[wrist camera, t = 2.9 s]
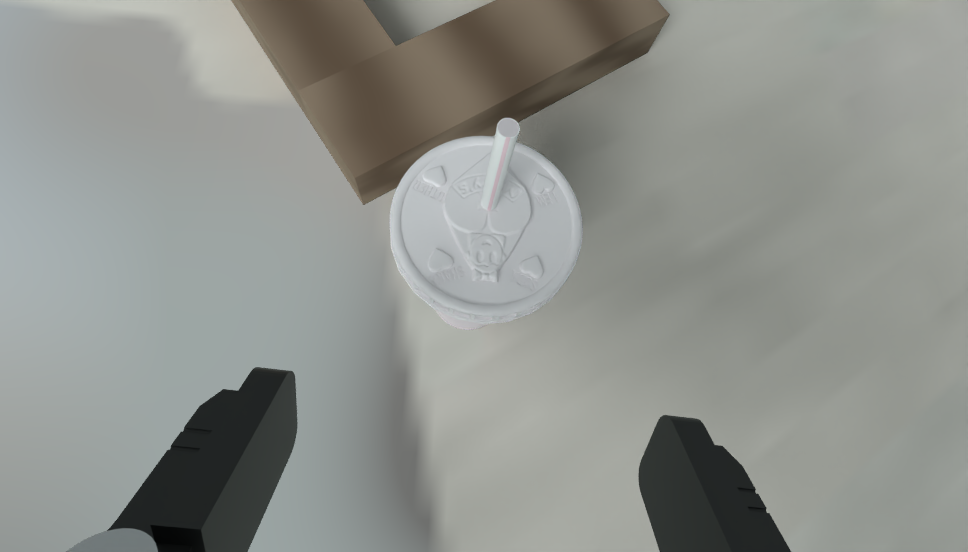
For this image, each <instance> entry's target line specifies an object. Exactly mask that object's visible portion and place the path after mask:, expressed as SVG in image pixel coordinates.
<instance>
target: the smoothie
mask: <svg viewBox="0 0 968 552" xmlns="http://www.w3.org/2000/svg"><path fill="white" fill-rule="evenodd" d="M519 131H520V127H519V124H518V123H517V121H515V120H514V119H511V118H504V119H501V120H500V121H499V122H498V124H497V128H496V133H495V137H493V136H471V137H464V138H459V139H455V140H452V141H449V142H446V143H444V144H441V145H439V146H437V147H435V148H433V149H432V150H430V151H429V152H427V153H426V154H424V155H423V156H422V157H420V158H419V159H418V160H417V161H416V162H415V163H414V164H413V165H412V166H411V167H410V168H409V169H408V171H407V172H406V173H405V175H404V176H403V178H402V179H401V181H400V183H399V185H398V187H397V189H396V192H395V194H394V197H393V201H392V204H391V210H390V240H391V250H392V253H393V255H394V258H395V261H396V264H397V267H398V270H399V272H400V273H401V275H402V276H403V278H404V279H405V281H406V282H407V283H408V285H409V286H410V288H411V289H412V291H413V292H414V293H415V294H417V295H418V296H419V297H420V298H421V299H423V300H424V301H425V302H426V303H427V304H428V305H430V306H431V307H432V308H434V309H435V310H436V312H437V313H438V315H439V316H440V317H441V318H442V319H443V320H444V321H445V322H446V323H448V324H449V325H451V326H453V327H455V328H459V329H464V330H472V329H478V328H481V327H483V326H485V325H487V324H489V323H500V322H509V321H512V320H514V319H517V318H520V317H523V316H526V315H528V314H531V313H533V312H534V311H536V310H537V309H538V308H540V307H541V306H543V305H544V304H546V303H547V302H548V301H550V300H551V299H552V298H553V297H554V296H555V294H556V293H557V292H558V291H559V289H560V288H561V287H562V286H563V284H564V283H565V282H566V280H567V278H568V276H569V275H570V273H571V271H572V270H573V268H574V266H575V263H576V261H577V258H578V256H579V252H580V248H581V243H582V232H583V226H582V217H581V211H580V207H579V204H578V201H577V198H576V196H575V193H574V192H573V190H572V188H571V186H570V184H569V183H568V181H567V179H566V178H565V177H564V175H563V174H562V173H561V172H560V171H559V170H558V168H557V167H556V166H555V165H554V164H553V163H551V162H550V161H549V160H548V159H547V158H545V157H544V156H543V155H541V154H540V153H538V152H537V151H535V150H534V149H532V148H530V147H528V146H526V145H523V144H521V143H518V142H516V141H517V138H518V134H519Z"/></svg>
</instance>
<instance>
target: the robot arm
mask: <svg viewBox="0 0 968 552" xmlns="http://www.w3.org/2000/svg"><path fill="white" fill-rule="evenodd" d="M296 433H297V406H296V388H295V375H294V373H293V372H292V371H286V370H277V369H268V368H260V367H256V368H254V369H253V370H252V371H251V372H250V374H249V375H248V377H247V378H246V380H245V381H244V383H243V384H242V386H241V388H240V389H239V391H234V390H226V389H223V390H222V391H221V392H219V393H218V394H216V395H215V396H213V397H212V398H210V399H209V400H208V401H206V402H205V403H203V404H202V405H201V406H200V407H199V408H198V409H197V411H196V412H195V414H194V415H193V416H192V417H191V419H190V420H189V422H188V423H187V424H186V426H185V427H184V431H183V432H181V433H180V434H179V435H178V437H177V438H176V439H175V441H174V442H173V444H172V445H171V449H170V450H167V452H166V453H165V454H164V456H163V457H162V458H161V460H160V462H159V463H158V464H157V465H156V467H155V468H154V469H153V471H152V472H151V474H150V475H149V476H148V478H147V479H146V480H145V482H144V483H143V484H142V486H141V487H140V489H139V490H138V491H137V493H136V494H135V495H134V497H133V498H132V500H131V501H130V502H129V504H128V505H127V506H126V508H125V509H124V511H123V512H122V513H121V515H120V516H119V517H118V519H117V520H116V521H115V522H114V524H113V525H112V526H111V527H110V528H109V529H108V530H107V531H105V532H102V533H99V534H96V535H94V536H92V537H90V538H87V539H85V540H84V541H82V542H80V543H78V544H77V545H75V546H74V547H72V548H71V549H69V550H68V551H66V552H248V549H249V547H250V545H251V543H252V540H253V538H254V536H255V533H256V531H257V529H258V527H259V525H260V522H261V520H262V518H263V515H264V513H265V511H266V509H267V506H268V504H269V502H270V500H271V498H272V495H273V493H274V491H275V489H276V486H277V484H278V482H279V479H280V477H281V475H282V473H283V471H284V468H285V466H286V464H287V462H288V459H289V457H290V455H291V452H292V449H293V446H294V443H295V438H296ZM639 487H640V491H641V495H642V498H643V501H644V504H645V507H646V510H647V513H648V516H649V519H650V522H651V526H652V529H653V532H654V535H655V538H656V541H657V544H658V547H659V550H660V552H791V551H790V549H789V547H788V546H787V544H786V542H785V540H784V538H783V537H782V535H781V533H780V531H779V530H778V528H777V526H776V524H775V523H774V521H773V519H772V517H771V516H770V514H769V513H767V512H766V507H765V505H764V503H763V501H762V500H761V498H760V496H759V494H756V493H755V490H756V489H755V487H754V486H753V484H752V482H751V480H750V479H749V477H748V475H747V473H746V472H745V470H744V468H743V466H742V465H741V464H740V463H739V462H738V461H737V460H736V459H735V458H734V457H733V456H732V455H731V454H730V453H729V452H728V451H727V450H726V449H725V448H724V447H723V446H718V445H714V443H713V441H712V439H711V437H710V435H709V434H708V432H707V430H706V428H705V426H704V424H703V423H702V422H701V421H700V420H699V419H694V418H686V417H677V416H668V415H663V416H662V417H660V419H659V420H658V422H657V425H656V427H655V429H654V432H653V434H652V436H651V439H650V441H649V443H648V446H647V448H646V450H645V453H644V455H643V457H642V460H641V463H640V467H639Z"/></svg>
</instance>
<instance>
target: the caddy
mask: <svg viewBox="0 0 968 552" xmlns="http://www.w3.org/2000/svg"><path fill="white" fill-rule="evenodd" d="M232 2H233V4H234V5H235V7H236V8H237V10H238V11H239V13H240V14H241V16H242V17H243V19H244V21H245V22H246V24H247V25H248V27H249V28H250V30H251V31H252V33H253V35H254V36H255V38H256V39H257V41H258V42H259V44H260V45H261V47H262V48H263V50H264V52H265V53H266V55H267V56H268V58H269V59H270V61H271V62H272V64H273V65H274V67H275V69H276V70H277V72H278V73H279V75H280V76H281V78H282V79H283V81H284V83H285V84H286V86H287V87H288V89H289V90H290V92H291V93H292V95H293V96H294V98H295V100H296V101H297V103H298V104H299V106H300V107H301V109H302V110H303V112H304V113H305V115H306V117H307V118H308V120H309V121H310V123H311V124H312V126H313V127H314V129H315V131H316V132H317V134H318V135H319V137H320V138H321V140H322V141H323V143H324V144H325V146H326V148H327V149H328V151H329V152H330V154H331V155H332V156H333V158H334V160H335V161H336V163H337V164H338V166H339V168H340V169H341V171H342V172H343V174H344V175H345V177H346V179H347V180H348V182H349V183H350V185H351V186H352V188H353V189H354V191H355V192H356V194H357V196H358V197H359V198H360V200H361V202H362V203H363V205H365V204H366V203H368V202H370V201H372V200H374V199H376V198H378V197H379V196H381V195H383V194H385V193H387V192H389V191H391V190H392V189H394V188H396V187H398V185H399V183H400V181H401V179H402V178H403V176H404V175H405V173H406V172H407V171H408V169H409V168H410V167H411V166H412V165H413V164H414V163H415V162H416V161H417V160H418V159H419V158H420V157H422V156H423V155H424V154H426V153H427V152H429V151H430V150H432V149H433V148H435V147H437V146H439V145H441V144H444V143H446V142H449V141H452V140H455V139H459V138H464V137H471V136H493V135H495V133H496V128H497V124H498V122H499V121H500V120H501V119H504V118H511V119H514V120H515V121H517V122H519V121H521V120H523V119H525V118H527V117H529V116H530V115H532V114H534V113H536V112H538V111H540V110H542V109H543V108H545V107H547V106H549V105H551V104H553V103H555V102H556V101H558V100H560V99H562V98H564V97H566V96H568V95H570V94H571V93H573V92H575V91H577V90H579V89H581V88H583V87H584V86H586V85H588V84H590V83H592V82H594V81H596V80H597V79H599V78H601V77H603V76H605V75H607V74H609V73H611V72H612V71H614V70H616V69H618V68H620V67H622V66H624V65H625V64H627V63H629V62H631V61H633V60H635V59H637V58H638V57H640V56H642V55H644V54H646V53H647V52H648V51H649V49H650V47H651V46H652V44H653V42H654V40H655V39H656V37H657V35H658V34H659V32H660V30H661V28H662V27H663V25H664V23H665V22H666V20H667V18H668V16H669V15H670V14H669V13H668V12H667V11H666V10H665V9H664V8H663V6H662V5H661V4H660V3H659V2H658V1H657V0H495V1H493V2H491V3H489V4H487V5H484V6H482V7H480V8H478V9H476V10H473V11H471V12H469V13H467V14H465V15H463V16H460V17H458V18H456V19H454V20H452V21H449V22H447V23H445V24H443V25H441V26H438V27H436V28H434V29H432V30H430V31H428V32H425V33H423V34H421V35H419V36H417V37H414V38H412V39H410V40H408V41H406V42H403V43H401V44H399V45H397V46H396V45H395V44H394V43H393V41H392V40H391V38H390V37H389V36H388V34H387V33H386V31H385V30H384V29H383V27H382V26H381V24H380V23H379V22H378V20H377V19H376V17H375V16H374V15H373V13H372V12H371V10H370V9H369V8H368V6H367V5H366V3H365V2H364V1H363V0H232Z"/></svg>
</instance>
